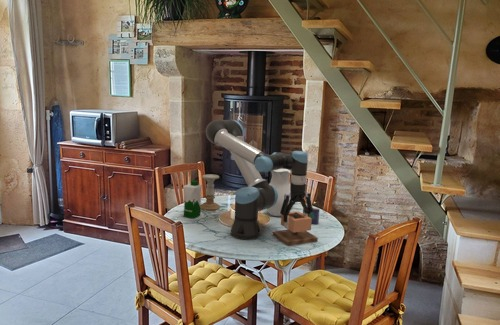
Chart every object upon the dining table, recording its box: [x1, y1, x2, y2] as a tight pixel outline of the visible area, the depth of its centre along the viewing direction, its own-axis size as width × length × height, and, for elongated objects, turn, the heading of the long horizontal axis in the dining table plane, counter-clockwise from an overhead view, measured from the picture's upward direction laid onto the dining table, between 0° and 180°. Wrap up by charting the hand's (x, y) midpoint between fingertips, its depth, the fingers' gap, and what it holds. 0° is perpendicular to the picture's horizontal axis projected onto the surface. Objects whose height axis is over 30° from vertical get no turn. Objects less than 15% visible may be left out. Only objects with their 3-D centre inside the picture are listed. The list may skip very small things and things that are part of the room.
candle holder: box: [201, 173, 221, 212], centre depth 229 cm, size 12×12×20 cm
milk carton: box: [182, 180, 202, 220], centre depth 212 cm, size 9×9×20 cm
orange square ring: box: [280, 210, 312, 233], centre depth 185 cm, size 10×12×6 cm
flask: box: [302, 204, 320, 226], centre depth 210 cm, size 9×3×11 cm, turn 68°
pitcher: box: [266, 169, 293, 217], centre depth 227 cm, size 24×17×28 cm
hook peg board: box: [272, 211, 319, 247], centre depth 186 cm, size 17×15×13 cm
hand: (295, 226), depth 186 cm, fingers closed on orange square ring, 10 cm apart
